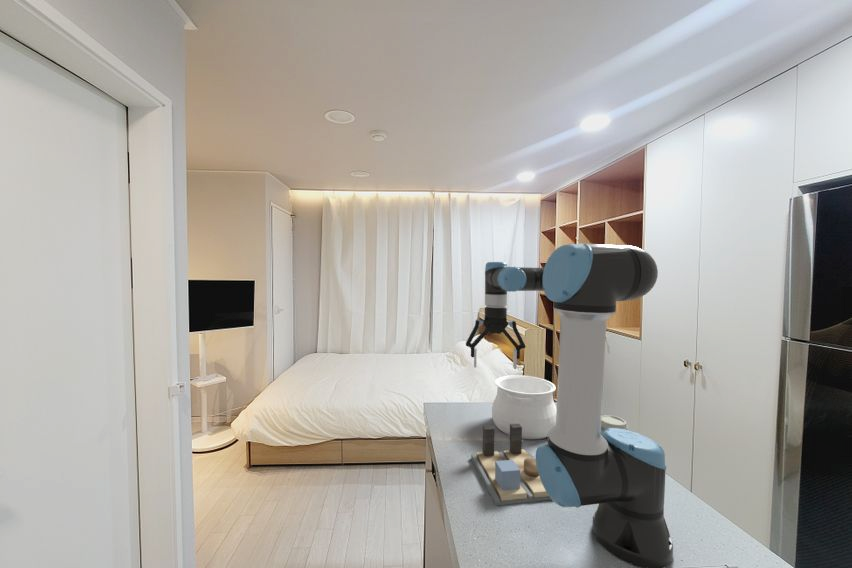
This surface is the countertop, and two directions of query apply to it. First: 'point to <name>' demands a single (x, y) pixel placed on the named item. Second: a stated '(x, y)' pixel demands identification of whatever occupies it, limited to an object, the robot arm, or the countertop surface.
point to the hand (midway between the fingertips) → (494, 367)
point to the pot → (524, 405)
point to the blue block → (507, 475)
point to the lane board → (493, 492)
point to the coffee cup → (612, 423)
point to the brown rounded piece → (530, 467)
